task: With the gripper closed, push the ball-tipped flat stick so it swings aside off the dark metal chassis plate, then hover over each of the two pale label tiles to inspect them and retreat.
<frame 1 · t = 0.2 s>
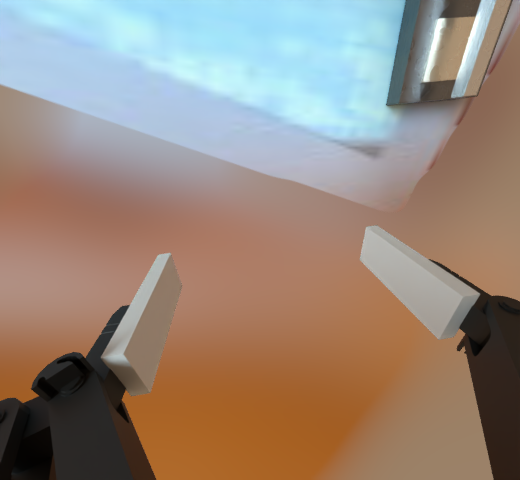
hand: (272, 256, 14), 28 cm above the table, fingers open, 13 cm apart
chassis: (446, 13, 30), on the table
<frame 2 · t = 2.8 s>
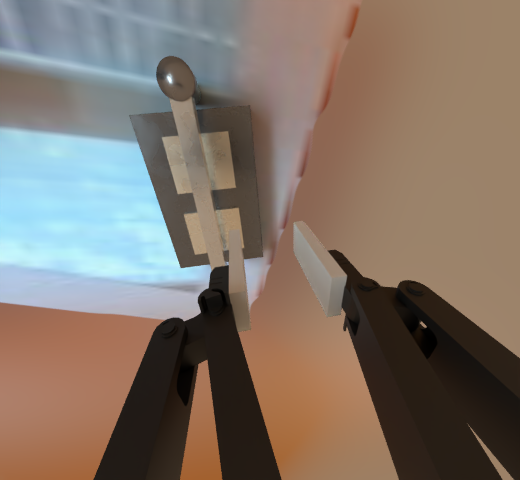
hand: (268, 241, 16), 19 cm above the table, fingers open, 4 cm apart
chassis: (211, 194, 32), on the table
ball-tipped flat stick: (203, 196, 25), point 7 cm above the table, hinge at 0.0°
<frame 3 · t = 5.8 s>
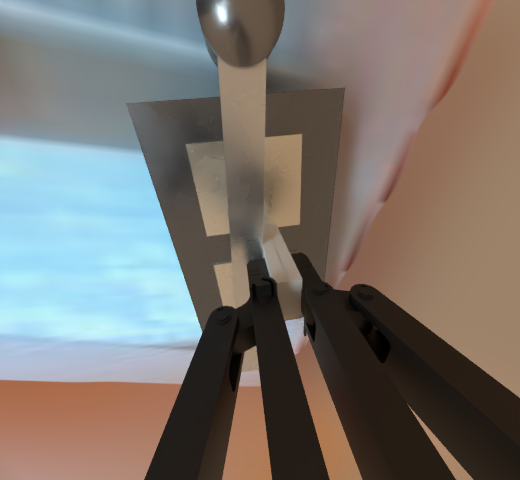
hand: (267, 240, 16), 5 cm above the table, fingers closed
chassis: (251, 228, 21), on the table
ball-tipped flat stick: (246, 250, 14), point 7 cm above the table, hinge at 4.9°, touching gripper
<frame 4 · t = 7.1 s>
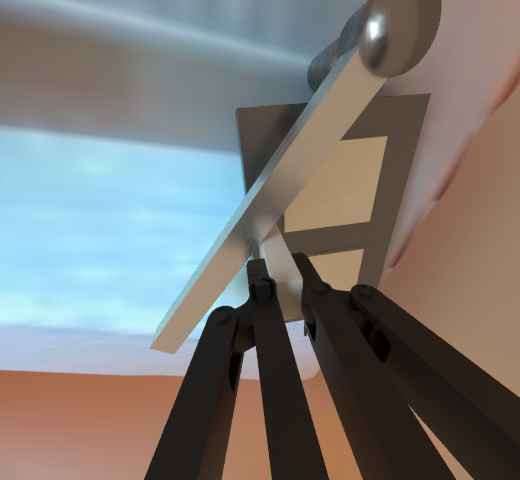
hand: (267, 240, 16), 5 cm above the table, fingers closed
chassis: (313, 226, 22), on the table
ball-tipped flat stick: (249, 223, 13), point 7 cm above the table, hinge at 39.9°, touching gripper
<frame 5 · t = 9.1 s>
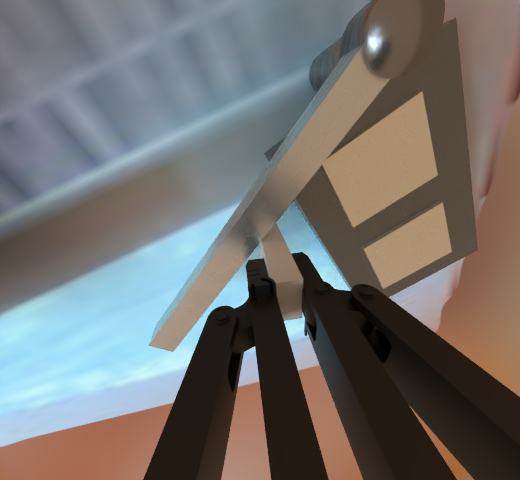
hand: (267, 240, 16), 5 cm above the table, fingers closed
chassis: (375, 202, 22), on the table
ball-tipped flat stick: (249, 223, 13), point 7 cm above the table, hinge at 71.0°, touching gripper
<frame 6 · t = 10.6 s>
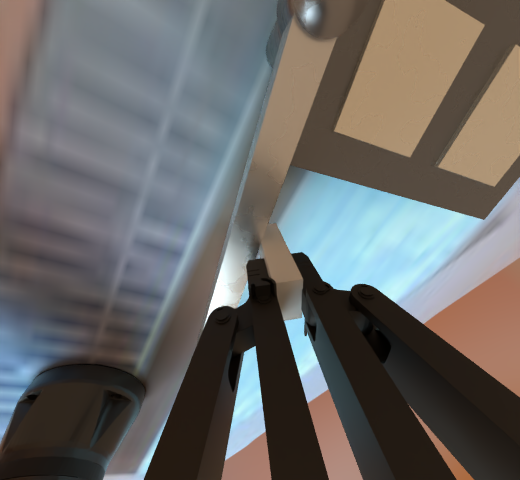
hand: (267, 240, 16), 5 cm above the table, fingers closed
chassis: (420, 109, 18), on the table
ball-tipped flat stick: (245, 228, 13), point 7 cm above the table, hinge at 92.8°, touching gripper
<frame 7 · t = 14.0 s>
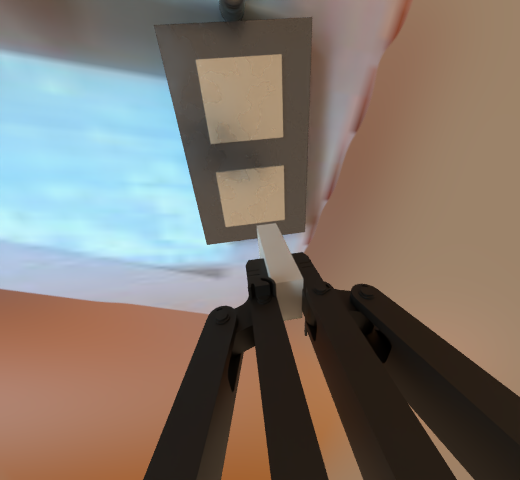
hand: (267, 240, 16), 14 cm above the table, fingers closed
chassis: (246, 152, 26), on the table
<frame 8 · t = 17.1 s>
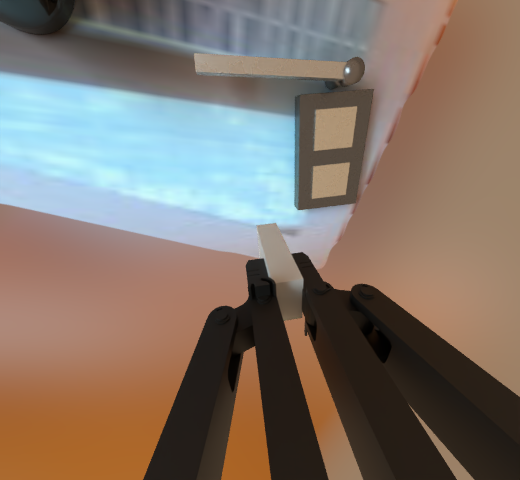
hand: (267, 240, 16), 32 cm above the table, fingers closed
chassis: (325, 154, 45), on the table
ball-tipped flat stick: (281, 69, 31), point 7 cm above the table, hinge at 95.4°
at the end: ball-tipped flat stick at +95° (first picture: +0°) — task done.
